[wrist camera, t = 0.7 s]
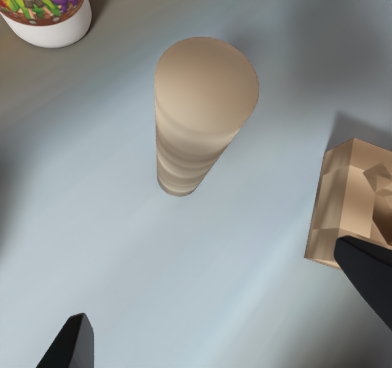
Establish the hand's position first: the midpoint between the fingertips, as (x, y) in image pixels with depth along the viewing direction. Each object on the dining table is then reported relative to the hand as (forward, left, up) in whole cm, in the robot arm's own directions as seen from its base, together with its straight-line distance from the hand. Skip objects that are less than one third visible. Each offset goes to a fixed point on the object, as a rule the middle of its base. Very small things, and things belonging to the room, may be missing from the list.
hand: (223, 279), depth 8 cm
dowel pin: (+7, +3, -13) cm, 15 cm away
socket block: (+9, -16, -13) cm, 23 cm away
